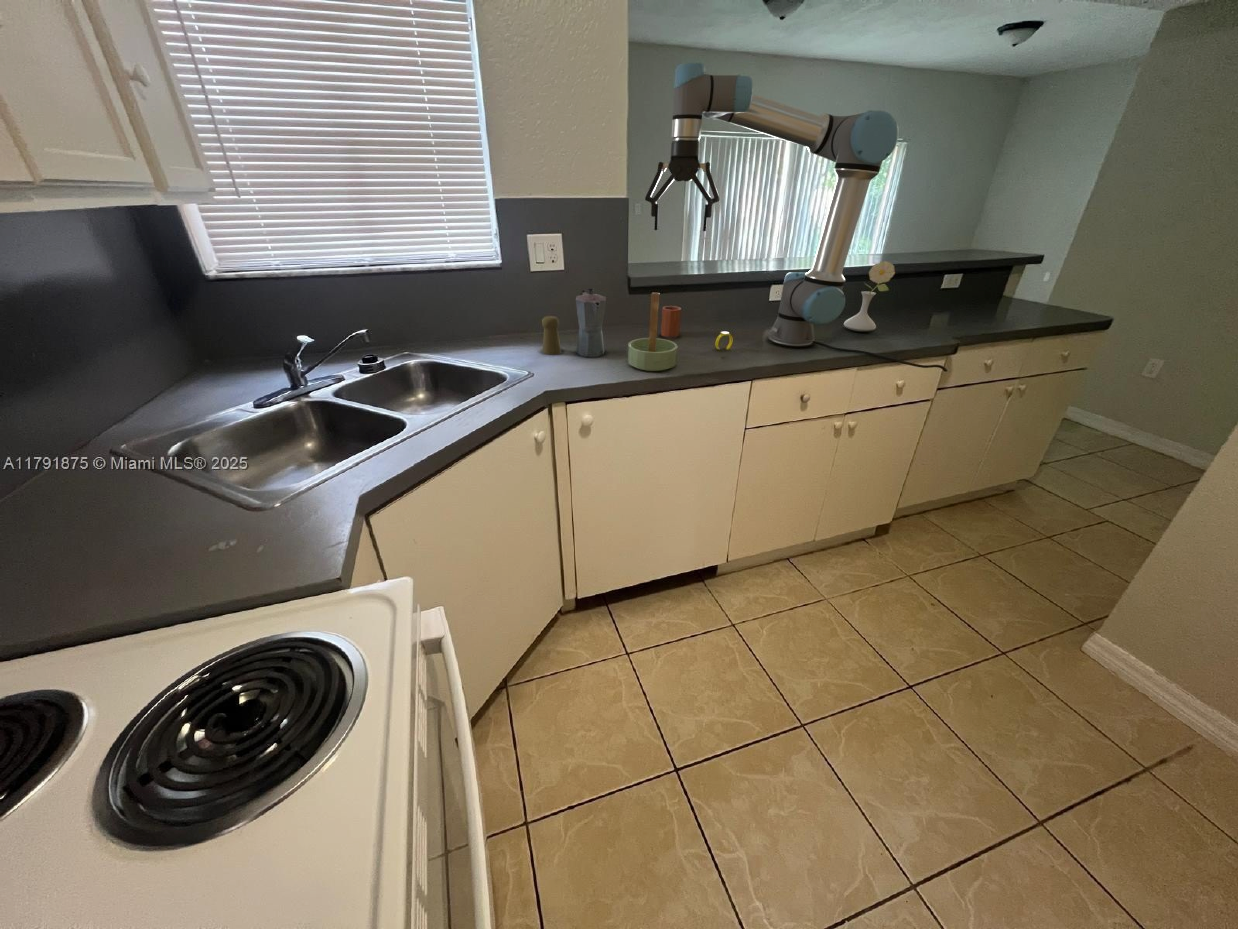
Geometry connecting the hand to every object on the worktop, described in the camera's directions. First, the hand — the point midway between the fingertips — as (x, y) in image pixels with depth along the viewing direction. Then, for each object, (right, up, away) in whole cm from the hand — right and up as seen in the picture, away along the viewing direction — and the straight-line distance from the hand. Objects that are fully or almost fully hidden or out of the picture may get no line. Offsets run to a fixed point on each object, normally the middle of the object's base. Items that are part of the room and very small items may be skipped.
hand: (680, 230), depth 137 cm
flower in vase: (+75, -15, +48) cm, 90 cm away
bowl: (-7, -36, +10) cm, 38 cm away
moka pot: (-27, -31, +19) cm, 45 cm away
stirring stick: (-7, -35, +10) cm, 37 cm away
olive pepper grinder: (-39, -30, +19) cm, 53 cm away
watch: (+17, -29, +23) cm, 41 cm away
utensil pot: (+1, -21, +36) cm, 41 cm away
